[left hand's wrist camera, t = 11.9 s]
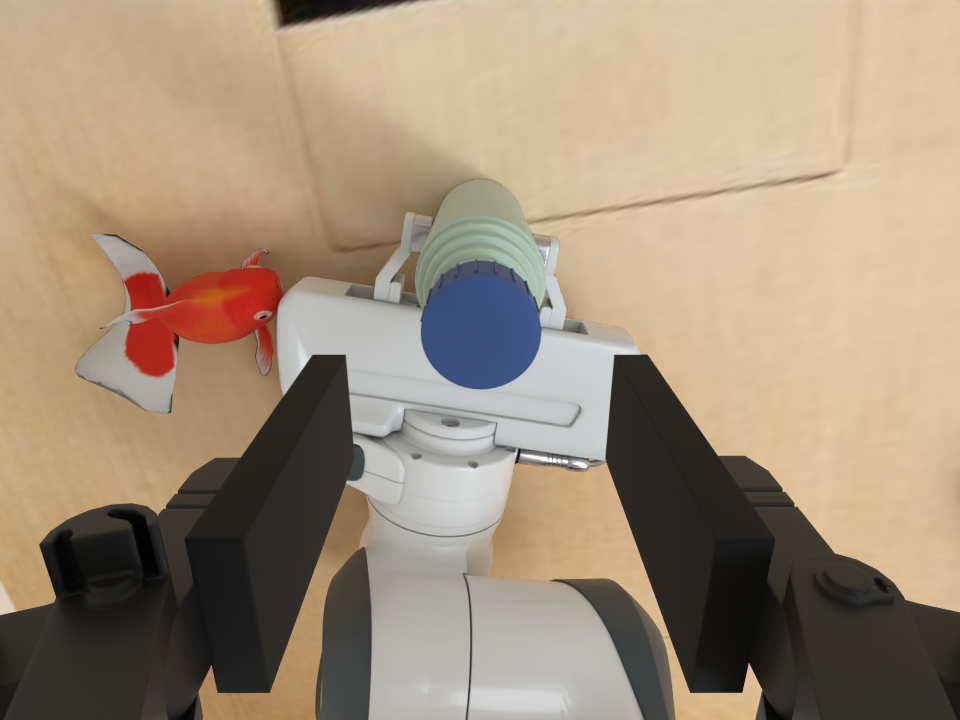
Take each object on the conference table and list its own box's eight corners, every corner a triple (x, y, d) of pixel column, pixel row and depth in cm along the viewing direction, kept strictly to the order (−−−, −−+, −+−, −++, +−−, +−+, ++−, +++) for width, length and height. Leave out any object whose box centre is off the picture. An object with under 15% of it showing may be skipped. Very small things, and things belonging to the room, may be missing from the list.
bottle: (540, 215, 39) (600, 316, 19) (487, 281, 40) (494, 435, 21) (472, 160, 37) (465, 209, 18) (420, 230, 39) (363, 344, 20)
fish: (329, 423, 39) (193, 447, 30) (160, 397, 45) (7, 410, 36) (337, 250, 38) (201, 222, 29) (164, 250, 45) (11, 226, 36)
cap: (560, 304, 21) (569, 324, 19) (490, 386, 22) (491, 413, 20) (470, 234, 20) (469, 248, 18) (402, 323, 21) (394, 345, 19)
